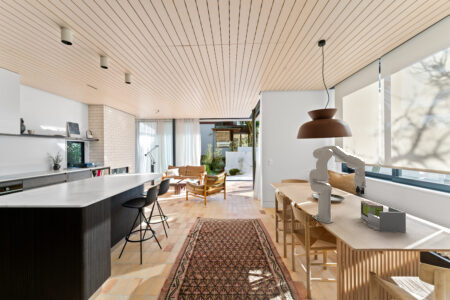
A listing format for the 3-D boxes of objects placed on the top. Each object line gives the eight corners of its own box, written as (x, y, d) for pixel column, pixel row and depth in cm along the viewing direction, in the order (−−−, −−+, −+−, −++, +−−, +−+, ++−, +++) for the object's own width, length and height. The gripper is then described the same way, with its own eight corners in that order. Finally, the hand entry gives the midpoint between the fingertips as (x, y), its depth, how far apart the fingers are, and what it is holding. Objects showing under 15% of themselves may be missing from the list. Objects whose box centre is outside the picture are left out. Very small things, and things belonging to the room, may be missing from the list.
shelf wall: (380, 231, 138) (380, 212, 138) (367, 224, 152) (367, 206, 152) (405, 232, 137) (405, 212, 137) (390, 224, 151) (390, 206, 151)
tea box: (384, 224, 152) (383, 205, 152) (369, 223, 154) (369, 205, 154) (373, 217, 167) (373, 200, 167) (360, 217, 169) (360, 200, 169)
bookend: (376, 230, 140) (375, 218, 140) (364, 224, 152) (364, 212, 152) (381, 230, 139) (381, 218, 139) (369, 224, 152) (369, 212, 152)
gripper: (350, 172, 184) (350, 191, 184) (361, 174, 167) (361, 195, 167) (358, 172, 184) (358, 191, 184) (370, 174, 166) (370, 195, 166)
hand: (360, 193), depth 175 cm, fingers open, 5 cm apart
